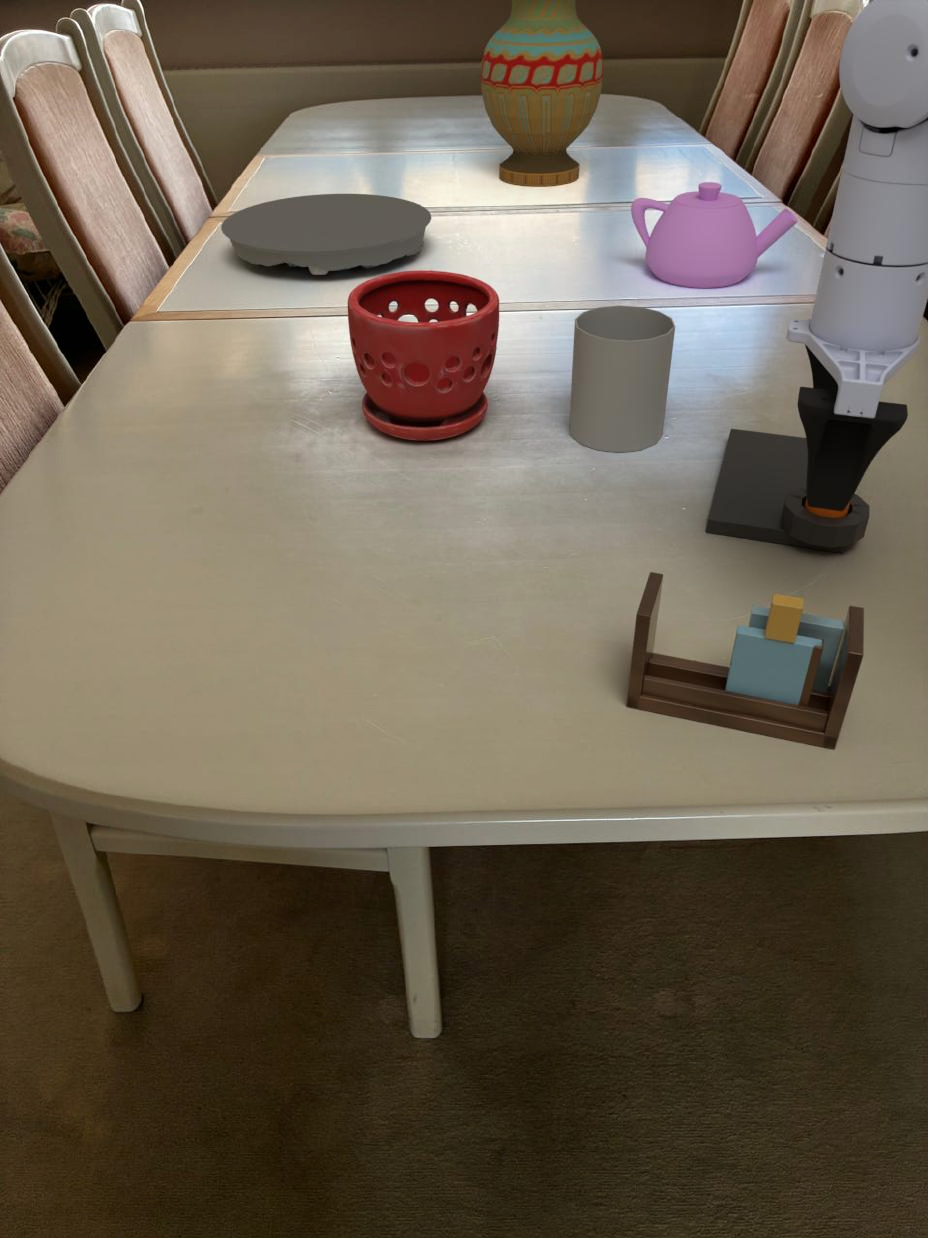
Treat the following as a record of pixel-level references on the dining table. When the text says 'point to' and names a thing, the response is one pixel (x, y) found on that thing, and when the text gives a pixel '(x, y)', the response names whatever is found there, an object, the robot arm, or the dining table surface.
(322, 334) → the dining table surface
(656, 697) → the brown wooden rack
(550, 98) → the vase
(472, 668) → the dining table surface
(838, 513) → the button
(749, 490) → the button block
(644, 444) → the cup
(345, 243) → the flat disc
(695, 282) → the teapot
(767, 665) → the pane
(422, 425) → the flower pot
